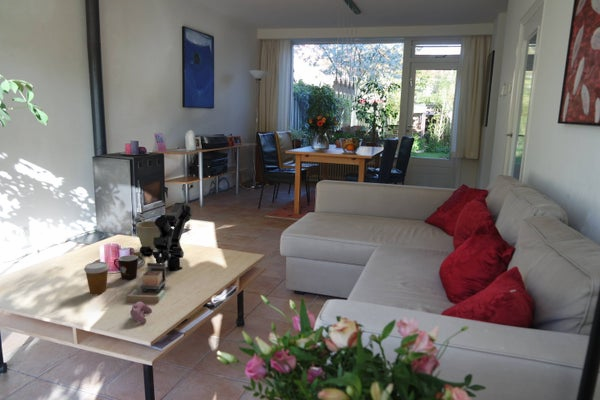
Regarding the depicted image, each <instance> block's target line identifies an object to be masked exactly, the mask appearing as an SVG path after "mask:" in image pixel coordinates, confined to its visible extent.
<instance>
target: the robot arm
mask: <svg viewBox="0 0 600 400" xmlns="http://www.w3.org/2000/svg"><path fill="white" fill-rule="evenodd" d="M192 217H193V208H192V207H191V206H189V205H187V204H186V203H184V202H175V203H174V205H173V207H172V208H171V210H170V211H169V212H167V213H164V214H160V217H159V216H158V217H156V219H155V220H154V221H155V225H156V227H157V229H158V231H159V232H160V235H159V237H154V240H153V245H155V246H154V247H155V248H156V249H151V248H150V246H142V245H141V247H139V252H140V254H141V257H144V258H151V257H152V256H153V259H155V263H163V264H166V266H165V270H167V271H169V272H175V271H178V270H182V269H183V267H182V266H181V261H180V260H181V259H183V258H184V254H185V252H184V250H183V248H182V246H181V242H180V241H181V238H182V235H183V232H184V229H185V226H186V223H187V222H190V220H191V218H192Z"/></svg>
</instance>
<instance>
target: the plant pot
mask: <svg viewBox="0 0 600 400" xmlns="http://www.w3.org/2000/svg"><path fill="white" fill-rule="evenodd" d="M135 225H136V226H135V227H136V230H137V237H138V239H139V242H140V243H139V244H141V247H142V246H150V248H151V249H156V248H155V247H154V246H155V245H153V240H154V237H159V235H160V232H159V231H158V229H157V227H156V225H155V220H149V221H148V220H147V221H141V222H140V221H139V222H138V223H136V224H135Z"/></svg>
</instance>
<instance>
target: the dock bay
mask: <svg viewBox="0 0 600 400" xmlns="http://www.w3.org/2000/svg"><path fill="white" fill-rule="evenodd" d="M165 295H166V291H165V290H164V289H163V290H160V292H159V293H157V295H148V294H147V295H145V294H138V289H135V288H134V289H133V290H132V291H130V293H129V294H126V303H137V302H140V301H141V302H143V303H144V304H145V303H146V304H152V303H153V304H159V303H160V301H161V300H162V299H163V298H164V297H165Z"/></svg>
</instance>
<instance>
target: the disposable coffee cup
mask: <svg viewBox="0 0 600 400" xmlns="http://www.w3.org/2000/svg"><path fill="white" fill-rule="evenodd" d="M109 268H110V266H109V264H108V262H104V261H95V262H90V263H87V264H86V265H85V266H84V269H83V270H84V272H85V275H86V281H87V285H88V290H89V294H90V295H102V294H103V293H105V292H106V291H107V284H108V270H109Z"/></svg>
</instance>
